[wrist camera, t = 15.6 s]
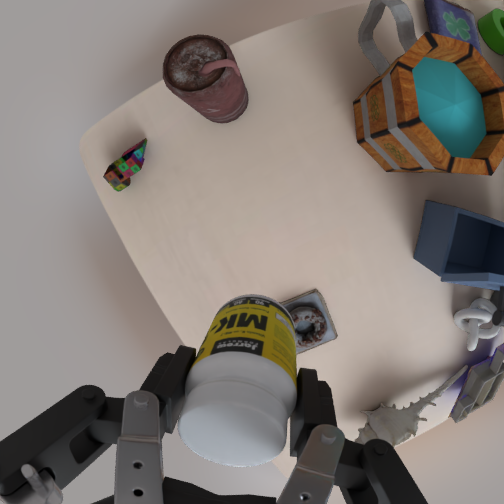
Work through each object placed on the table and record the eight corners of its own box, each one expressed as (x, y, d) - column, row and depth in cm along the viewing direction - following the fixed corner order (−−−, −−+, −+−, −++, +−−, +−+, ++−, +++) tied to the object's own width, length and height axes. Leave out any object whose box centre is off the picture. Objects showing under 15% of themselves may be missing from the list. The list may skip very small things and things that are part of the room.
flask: (475, 12, 23) (487, 70, 26) (466, 18, 26) (476, 74, 29) (426, -10, 23) (437, 49, 26) (419, -2, 26) (427, 55, 29)
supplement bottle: (273, 278, 16) (263, 377, 8) (307, 345, 17) (317, 458, 9) (198, 310, 17) (142, 409, 9) (236, 371, 18) (210, 478, 10)
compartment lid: (488, 272, 20) (481, 326, 20) (555, 286, 20) (549, 329, 19) (441, 274, 29) (435, 317, 28) (510, 286, 28) (505, 322, 28)
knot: (478, 336, 38) (495, 353, 33) (443, 340, 39) (458, 359, 33) (490, 295, 37) (509, 309, 31) (454, 297, 37) (474, 312, 32)
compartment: (425, 199, 34) (455, 206, 27) (492, 220, 34) (523, 229, 26) (413, 258, 36) (439, 276, 29) (480, 271, 36) (508, 288, 29)
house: (481, 369, 32) (462, 348, 37) (453, 425, 37) (439, 405, 42) (521, 345, 32) (503, 329, 37) (494, 401, 37) (480, 385, 42)
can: (252, 121, 34) (238, 90, 20) (201, 126, 35) (158, 101, 21) (249, 75, 32) (233, 25, 19) (198, 81, 33) (158, 38, 20)
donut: (338, 337, 40) (341, 345, 38) (287, 357, 41) (287, 365, 39) (319, 287, 38) (321, 293, 36) (264, 309, 40) (263, 316, 38)
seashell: (461, 373, 43) (352, 450, 44) (452, 342, 42) (334, 425, 43) (492, 396, 33) (369, 487, 34) (487, 364, 32) (351, 464, 33)
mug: (457, 155, 32) (530, 154, 18) (379, 192, 35) (438, 205, 20) (392, 28, 29) (436, -25, 14) (307, 54, 31) (323, -9, 17)
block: (111, 161, 36) (125, 178, 38) (103, 176, 33) (119, 195, 36) (145, 138, 35) (160, 157, 37) (139, 152, 32) (155, 172, 34)
